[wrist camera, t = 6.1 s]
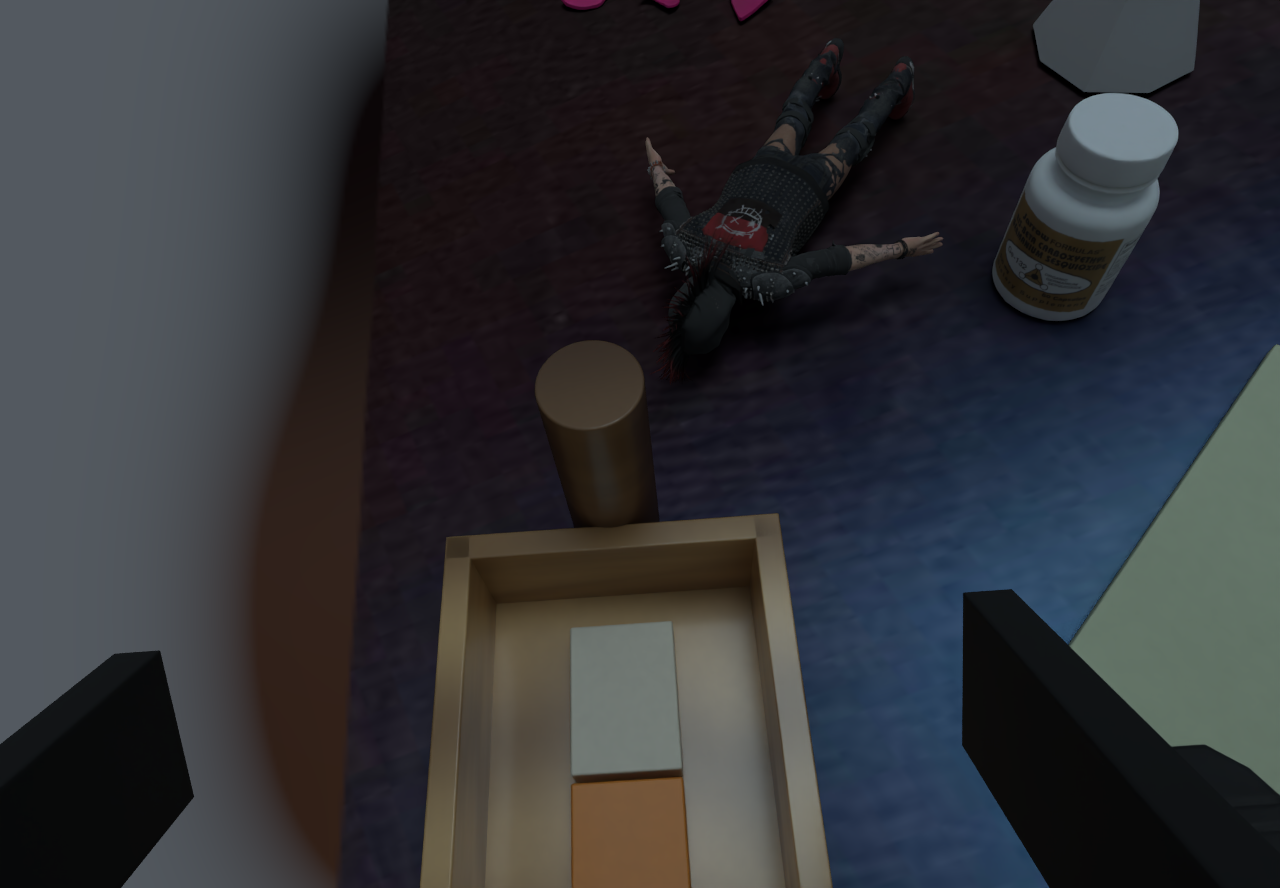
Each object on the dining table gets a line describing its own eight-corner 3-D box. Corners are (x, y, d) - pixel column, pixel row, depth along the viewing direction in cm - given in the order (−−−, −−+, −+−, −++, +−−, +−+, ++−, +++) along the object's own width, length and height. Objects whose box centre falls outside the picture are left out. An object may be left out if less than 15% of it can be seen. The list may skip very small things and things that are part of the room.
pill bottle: (970, 292, 35) (1030, 136, 29) (1020, 228, 37) (1089, 66, 30) (1074, 342, 34) (1163, 190, 27) (1122, 273, 35) (1217, 113, 29)
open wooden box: (824, 985, 23) (892, 995, 15) (457, 1005, 24) (317, 1026, 15) (760, 501, 31) (779, 324, 23) (482, 521, 31) (398, 353, 23)
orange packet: (696, 957, 23) (695, 956, 22) (577, 964, 23) (571, 963, 22) (683, 784, 26) (683, 776, 25) (576, 790, 26) (570, 782, 25)
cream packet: (683, 776, 26) (682, 769, 25) (575, 783, 26) (570, 775, 25) (673, 632, 28) (672, 620, 27) (574, 639, 28) (569, 626, 27)
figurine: (1038, 39, 35) (850, 388, 26) (995, 157, 40) (824, 486, 31) (740, -35, 39) (488, 245, 30) (734, 81, 44) (516, 351, 35)
